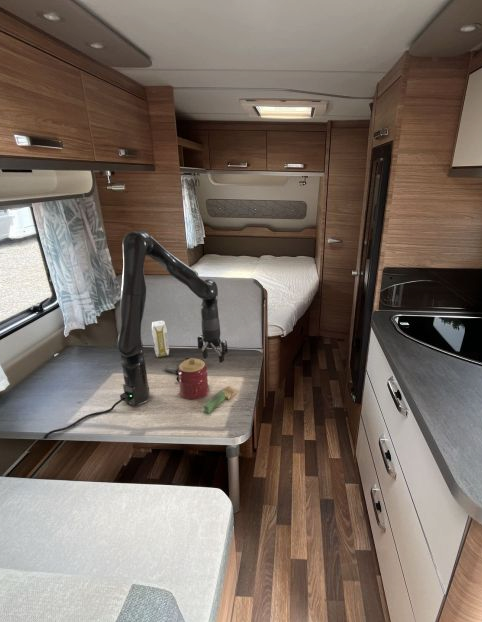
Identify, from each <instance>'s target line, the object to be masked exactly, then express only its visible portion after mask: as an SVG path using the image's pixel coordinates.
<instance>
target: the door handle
mask: <svg viewBox="0 0 482 622" xmlns="http://www.w3.org/2000/svg"><path fill="white" fill-rule="evenodd" d="M190 358H191V357H186V358H185V359H184V361H185V360H188V359H190ZM200 360H202V361H204V362H205V360H204V359H200ZM178 369H179V367H178V368H175V367H171V366H166V367H165V368H164V372H168V373H173V374H176V378H175V379H176V381H177V382H179V379H178V378H179V374H178Z"/></svg>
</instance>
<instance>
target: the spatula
mask: <svg viewBox="0 0 482 622" xmlns="http://www.w3.org/2000/svg"><path fill="white" fill-rule="evenodd" d="M237 392H238V389H236V388H234V387H230V386H226V387H225V388H224V389H223V390H220V391H219V392H218V393H217V394H216V395H215V396H213V397H212V398H211V399H209V400H208V402H206V403H205V404H204V405H203V408H204V409H203V410H204V411H203V412H204V413H206V414H208V415H209V414H211V413H212V412H213V411H214V410H215V409H216V408H217V407H218V406H220V404H222V403H223V402H224V401H225V400H230V399H231V398H232V397H233V396H235V394H237Z"/></svg>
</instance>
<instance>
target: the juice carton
mask: <svg viewBox="0 0 482 622" xmlns="http://www.w3.org/2000/svg"><path fill="white" fill-rule="evenodd" d="M151 334H152V342H153V347H154V354H155V356H156V357H157V358H161V357H162V358H163V357H167V356H169V354H170V347H169V346H170V344H169V337H168V329H167V324H166V323H165V320H157V321H151Z"/></svg>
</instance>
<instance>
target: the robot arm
mask: <svg viewBox="0 0 482 622" xmlns="http://www.w3.org/2000/svg"><path fill="white" fill-rule="evenodd" d="M146 257H148V258H150V259H152V260H153V261H155V262H157V263H158V264H159V265H160V266H161V267H162V268H163V269H164V270H165V271H166V272H167V273H168V274H169V275H171V276H172V277H173V278H174V279H176V280H177V281H178V282H180V283H182V284H183V285H184V286H186V287H187V288H188V289H189V290H190V291H191V292H192V293H193V294H195V296H197V297H198V298H199V299H201V305H200V315H201V316H200V317H201V321H200V322H201V334H200V335H199V336H197V350H200V351H201V352H202V353H201V354H202V357H203V360H204V359H207V358H208V357H209V354H208V353H209V352H208V349H211V350H214V351H215V352H216V353H217V354H218V362H219V363H221V364H222V363H223V362H224V361H225V355H227V354H228V353H229V349H228V342H227V340H221V325H220V317H219V307H218V298H219V290H218V289H219V287H218V285H217V283H216V281H214V280H213V279H205V280H204V279H203V278H201V277H200V276H199V273H198V272H197V271H196V270H195V269H194V268H192V267H190V266H189V265H188V264H187V263H185V262H183V261H182V260H180V259H179V258H178V257H176V256H174V255H173V254H172V253H171V252H170V251H168V250H167V249H166V248H164V246H162V245H161V244H160V243H159V242H158V241H157V240H156V239H155V238H154V237H153V236H151V234H150V233H148V232H147V231H145V230H141V229H137V230H131V231H129V232H127V233H126V234H125V235H124V237H123V239H122V259H123V260H122V261H123V263H122V264H123V268H122V277H121V288H120V299H119V301H120V302H119V303H120V307H119V308H120V331H119V334H118V335H117V336H118V337H117V341H116V342H117V343H116V347H117V350H118V352H119V356H120V365H121V369H122V376H123V380H124V381H123V382H124V383H123V384H122V388H123V392H122V393H121V394H119V398H120V399H119V400H118V401H116V402H115V403H114V404H112V406H111V408H108V409H107V410H103V411H99V412H92V413H89V414H86V415H84V416H82V417H81V418H79V419H77V420H76V421H74V422H72V423H71V424H70V425H67V426H65V427H61V428H57V429H53V430H50V431H48V432H47V433H46V434H45V435H44V436H43V437H42V439H47V438H48V437H49V436H50V435H51V434H55V433H58V432H63V431H66V430H68V429H71V428H72V427H74V426H76V425H77V424H78V423H80V422H81V421H83V420H85V419H87V418H89V417H93V416H97V415H102V414H107V413H110V412H112V411H113V410H114V409H115V407H116V406H118V405H119V404H120V403H122V402H124V403H126V404H128V405H131V406H134V407H137V406H140V405H144V404H146V403H148V402H149V401H150V400H151V392H150V391H151V390H150V385H149V380H148V379H149V378H148V373H147V366H146V360H145V352H144V346H143V345H144V344H143V339H142V323H143V318H144V313H145V307H146V300H147V282H146V277H145V272H144V266H145V259H146Z"/></svg>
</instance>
